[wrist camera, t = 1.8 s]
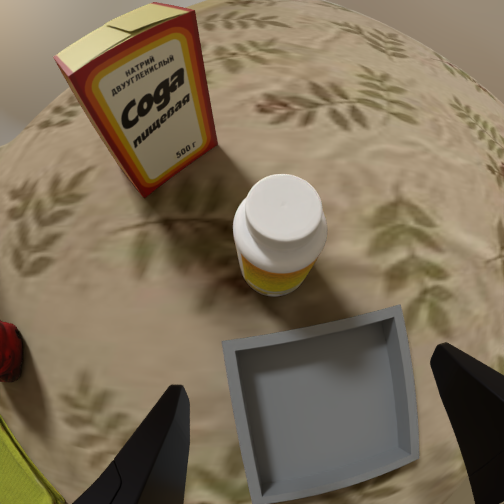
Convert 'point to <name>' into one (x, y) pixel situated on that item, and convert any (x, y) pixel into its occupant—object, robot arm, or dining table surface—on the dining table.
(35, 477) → the dish towel
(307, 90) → the dining table surface
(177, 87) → the baking soda box
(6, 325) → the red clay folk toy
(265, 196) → the supplement bottle
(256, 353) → the tray
